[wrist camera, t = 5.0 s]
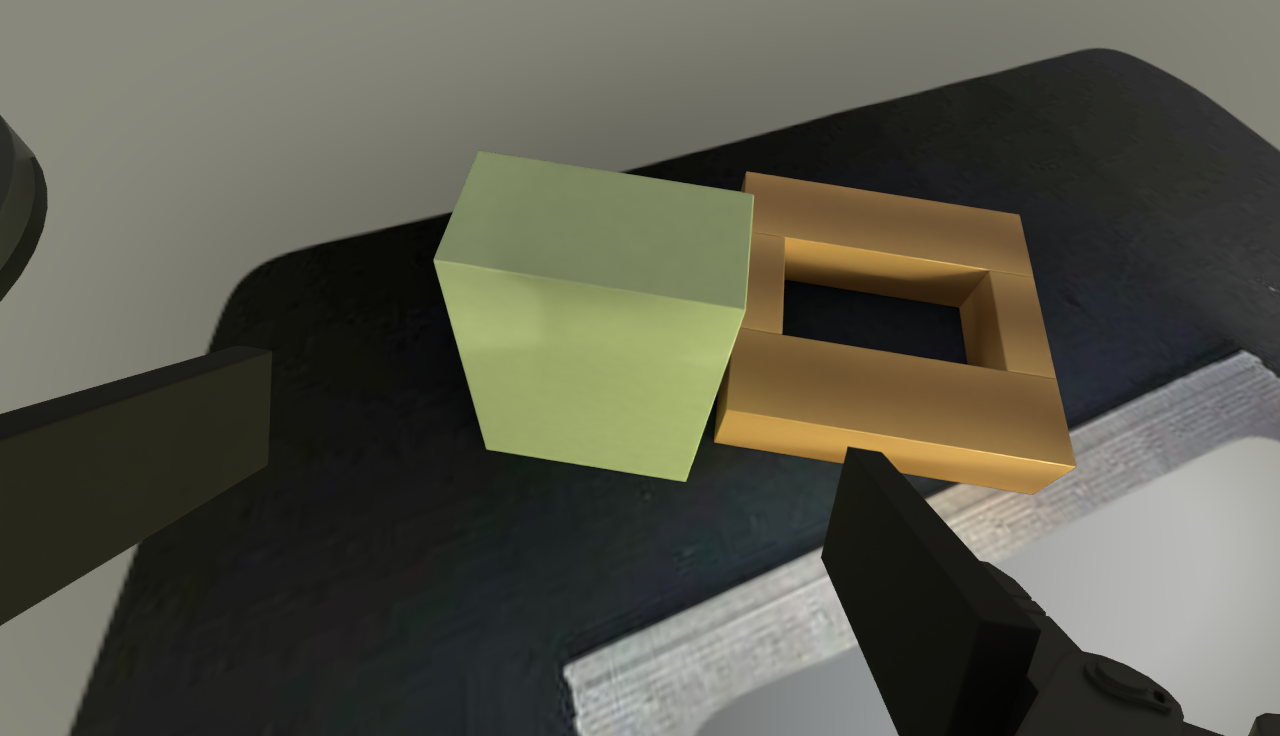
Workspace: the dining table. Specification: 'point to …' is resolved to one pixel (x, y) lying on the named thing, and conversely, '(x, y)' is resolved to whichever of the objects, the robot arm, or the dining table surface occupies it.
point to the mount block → (890, 382)
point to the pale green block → (594, 309)
